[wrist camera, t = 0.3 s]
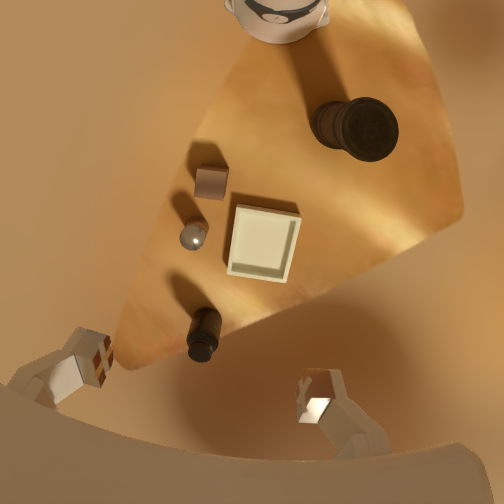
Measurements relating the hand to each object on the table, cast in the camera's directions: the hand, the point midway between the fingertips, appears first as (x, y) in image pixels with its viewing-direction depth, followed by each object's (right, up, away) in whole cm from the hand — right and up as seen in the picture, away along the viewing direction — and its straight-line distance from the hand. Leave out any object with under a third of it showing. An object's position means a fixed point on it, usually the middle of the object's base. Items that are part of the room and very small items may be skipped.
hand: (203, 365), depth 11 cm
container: (+17, +27, +38) cm, 49 cm away
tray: (+4, +7, +48) cm, 48 cm away
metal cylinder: (-9, +9, +47) cm, 48 cm away
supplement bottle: (-8, -11, +56) cm, 58 cm away
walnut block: (-5, +18, +42) cm, 46 cm away
